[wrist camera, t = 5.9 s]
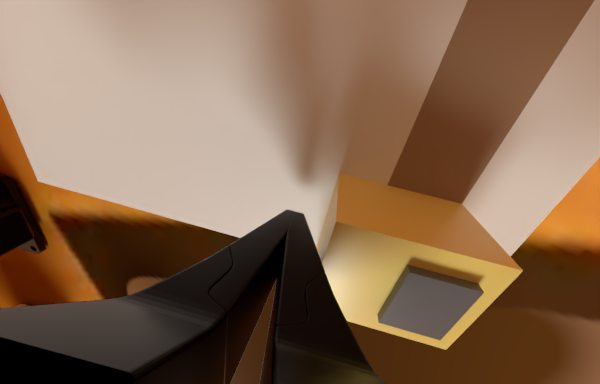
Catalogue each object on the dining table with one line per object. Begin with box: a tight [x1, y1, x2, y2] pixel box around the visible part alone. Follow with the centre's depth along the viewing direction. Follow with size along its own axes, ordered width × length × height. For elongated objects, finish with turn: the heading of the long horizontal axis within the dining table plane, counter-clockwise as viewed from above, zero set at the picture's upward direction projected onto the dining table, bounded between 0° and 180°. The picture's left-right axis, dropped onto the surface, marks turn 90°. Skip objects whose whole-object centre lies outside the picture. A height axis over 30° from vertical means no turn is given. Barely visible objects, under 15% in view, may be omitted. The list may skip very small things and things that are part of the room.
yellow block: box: [317, 173, 523, 349], centre depth 8 cm, size 5×4×4 cm
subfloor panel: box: [0, 0, 600, 256], centre depth 9 cm, size 24×12×1 cm, turn 79°
